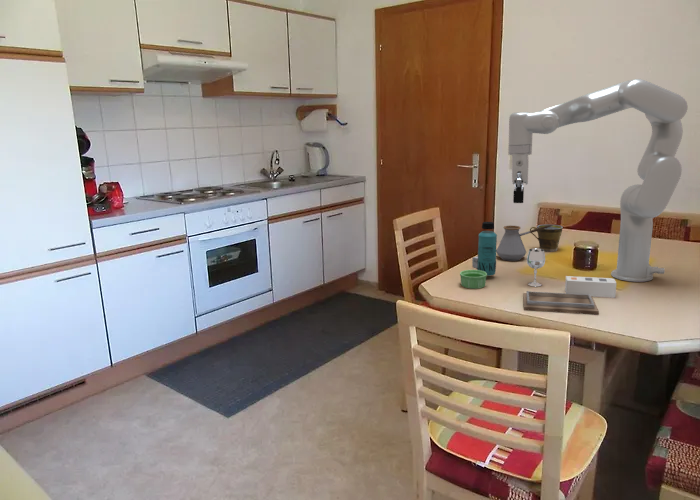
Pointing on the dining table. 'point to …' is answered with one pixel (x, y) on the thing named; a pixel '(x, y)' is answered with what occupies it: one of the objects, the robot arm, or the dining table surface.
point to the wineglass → (535, 262)
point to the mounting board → (559, 302)
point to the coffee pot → (513, 243)
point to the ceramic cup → (549, 237)
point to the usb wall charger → (474, 262)
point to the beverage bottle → (487, 249)
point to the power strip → (591, 286)
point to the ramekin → (473, 279)
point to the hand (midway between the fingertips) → (518, 200)
